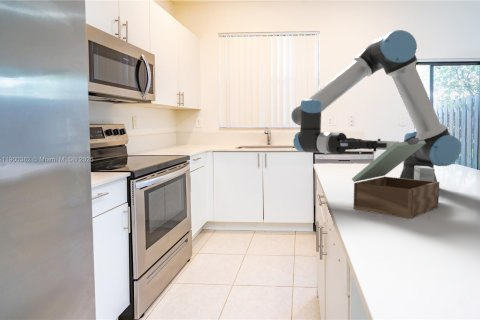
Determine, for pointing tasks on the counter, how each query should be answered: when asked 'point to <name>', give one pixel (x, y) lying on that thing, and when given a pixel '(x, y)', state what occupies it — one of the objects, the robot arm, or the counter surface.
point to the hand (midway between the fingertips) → (398, 145)
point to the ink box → (424, 173)
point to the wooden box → (396, 196)
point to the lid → (389, 159)
